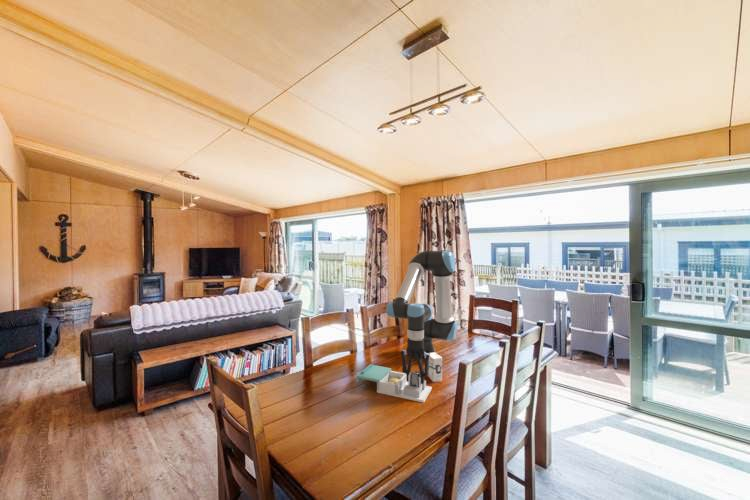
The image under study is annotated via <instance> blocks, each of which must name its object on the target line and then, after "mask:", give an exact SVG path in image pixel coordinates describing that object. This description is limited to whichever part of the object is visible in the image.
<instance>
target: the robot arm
mask: <svg viewBox="0 0 750 500" xmlns="http://www.w3.org/2000/svg"><path fill="white" fill-rule="evenodd" d="M456 263H457V262H456V257H455V255H454V253H453V252H451V251H449V250H448V251H447V250H446V251H445V250H423V251H421V252H418V253H417V254H416V255H415V256H414V257H413V258H411V260H410V261H409V263H408V266H407V271H406V274H405V277H404V279H403V281H402V283H401V285H400V288H399V289H398V292H397V294H396V297H395V299H394V301H388V302H387V304H386V308H385V312H386V315H387V316H388V317H390V318H397V319H404V320H405V319H407V324H406V325H407V327H406V328H407V329H406V330H407V331H406V332H407V334H406V335H407V336H406V337H407V338H406V343H407V345H406V347H407V348H406V349H402V350H401V351H400V353H401V357H402V358H401V359H402V360H401V361H402V362H401V363H402V364H401V365H402V367H401V369H402V373H406V375H407V378H406V380H407V381H408V386H411V372H412V365H413V361H414V360H416V363H417V364H418V372H419V373H420V376H419V388H421V390H422V384H423V383H424V380H425V377H427V375H428V372H429V357H430V353H433V352H435V353H436V350H435V347H434V343H433V339H435V340H440V341H446V342H453V341H454V340H455V339H456V337H457V334H458V333H457V332H458V327H459V323H458V321H457V320H455V317H454V315H452V299H451V298H452V294H451V290H452V289H451V277H452V276H453V273H454V272H456ZM425 272H431V276H432V277H434V284H435V285H434V290H435V301H436V303H435V306H436V307H435V309H436V315H435V316H434V318H433V308H432V306H431V305H430V304H428V303H415V302H414V303H410V302H411V299H412V297H413V295H414V292H415V290H416V288H417V286H418V283H419V280H420V278H421V276H422V275H424V273H425ZM407 355H408V356H409V357H408V362H407ZM423 358H424V364H423Z"/></svg>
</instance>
